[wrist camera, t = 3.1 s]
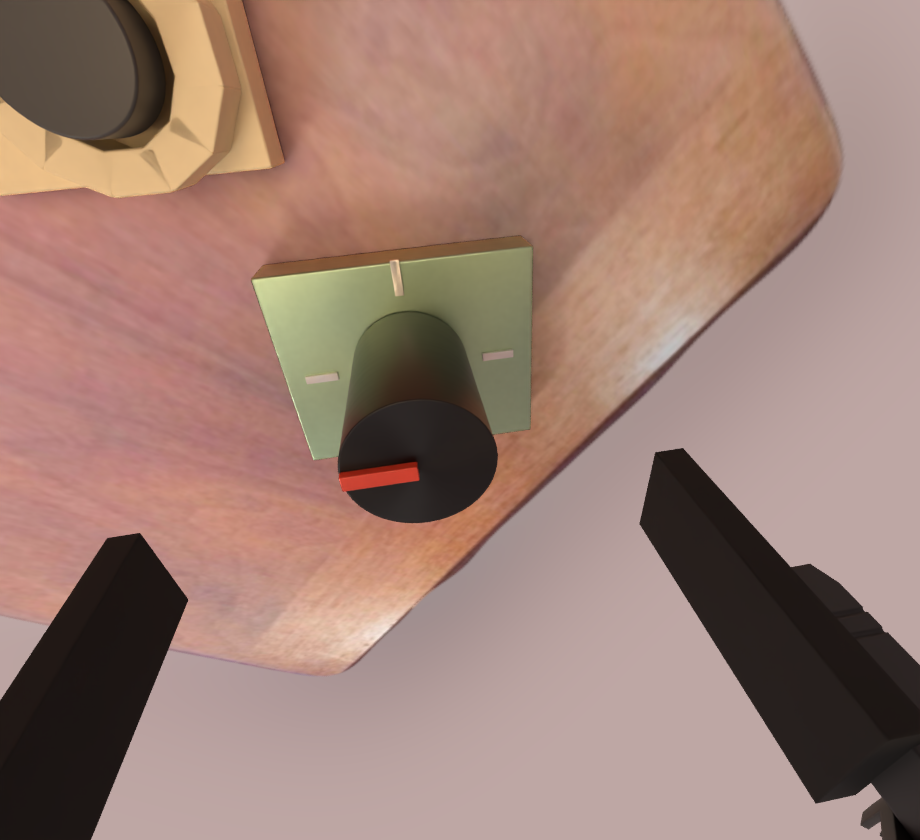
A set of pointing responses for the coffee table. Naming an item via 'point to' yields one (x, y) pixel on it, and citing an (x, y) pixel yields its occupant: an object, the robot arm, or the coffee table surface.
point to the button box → (163, 115)
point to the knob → (414, 423)
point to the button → (80, 67)
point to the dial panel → (395, 291)
